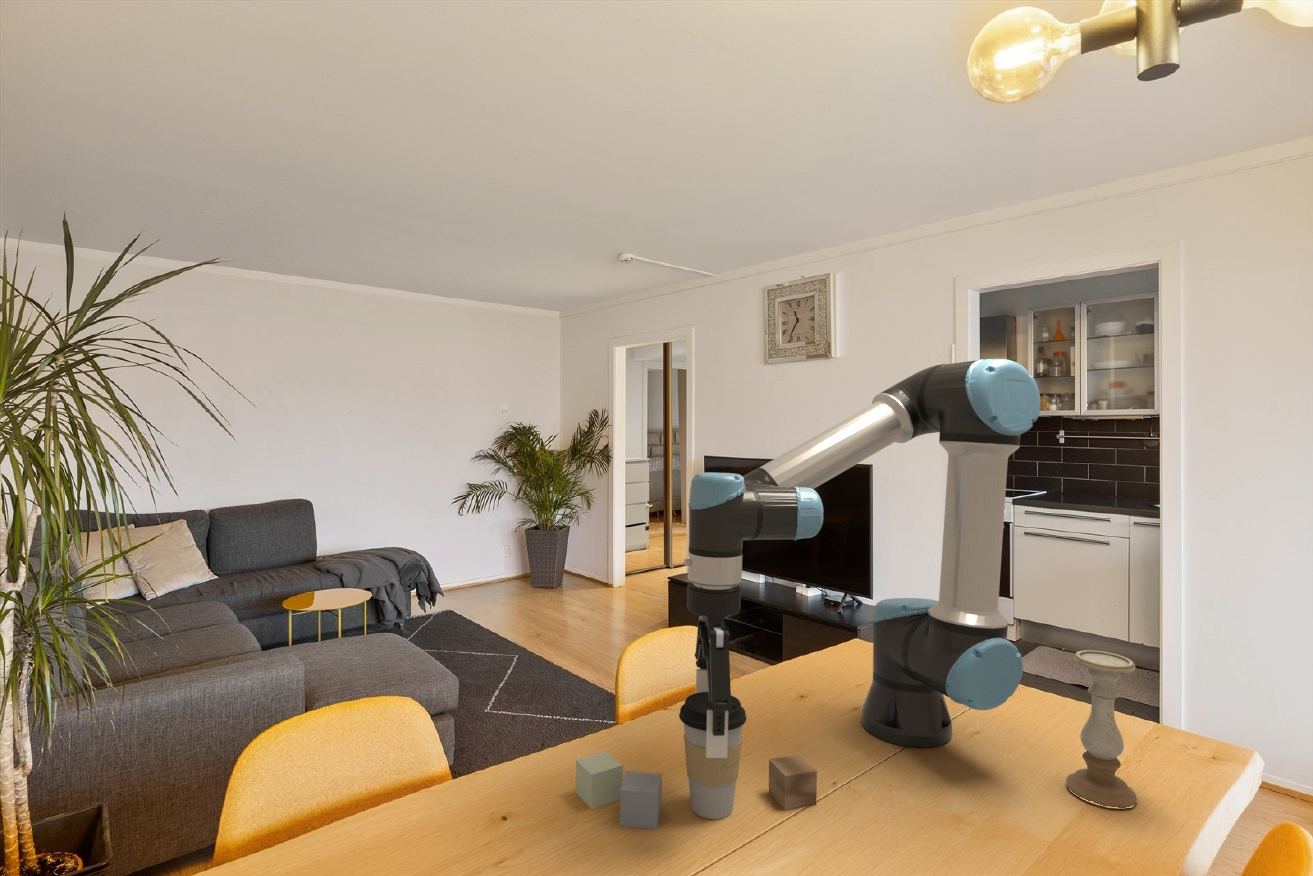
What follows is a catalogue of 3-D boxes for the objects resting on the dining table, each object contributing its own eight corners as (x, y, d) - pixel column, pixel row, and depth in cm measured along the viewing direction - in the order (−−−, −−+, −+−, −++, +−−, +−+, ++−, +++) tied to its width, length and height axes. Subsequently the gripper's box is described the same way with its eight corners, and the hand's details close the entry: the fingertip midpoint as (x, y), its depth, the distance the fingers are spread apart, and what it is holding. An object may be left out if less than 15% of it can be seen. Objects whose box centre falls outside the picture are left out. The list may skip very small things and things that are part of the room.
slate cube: (661, 809, 97) (661, 774, 96) (656, 830, 92) (657, 793, 91) (626, 806, 97) (626, 771, 97) (620, 826, 92) (620, 790, 92)
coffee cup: (742, 831, 91) (743, 720, 91) (672, 822, 93) (673, 713, 93) (747, 793, 101) (748, 692, 100) (683, 786, 102) (685, 686, 102)
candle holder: (1125, 784, 104) (1129, 652, 104) (1145, 816, 96) (1149, 672, 95) (1059, 774, 107) (1063, 645, 106) (1073, 804, 99) (1077, 664, 98)
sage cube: (605, 784, 103) (606, 751, 103) (622, 799, 99) (622, 765, 99) (575, 793, 100) (576, 759, 100) (591, 810, 96) (591, 774, 96)
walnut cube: (798, 787, 103) (799, 754, 102) (816, 805, 98) (816, 771, 98) (768, 793, 101) (769, 759, 101) (784, 811, 96) (785, 776, 96)
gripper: (680, 564, 108) (676, 697, 109) (696, 606, 83) (692, 779, 84) (727, 565, 109) (723, 698, 109) (757, 607, 84) (753, 779, 84)
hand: (709, 733), depth 96 cm, fingers open, 13 cm apart
